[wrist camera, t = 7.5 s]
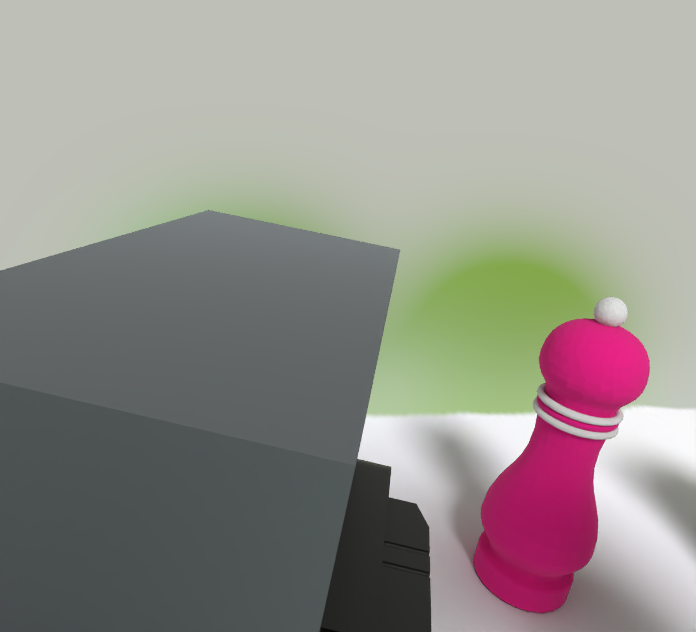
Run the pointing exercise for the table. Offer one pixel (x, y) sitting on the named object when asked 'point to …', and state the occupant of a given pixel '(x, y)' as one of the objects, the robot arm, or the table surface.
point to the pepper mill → (560, 462)
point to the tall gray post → (183, 425)
